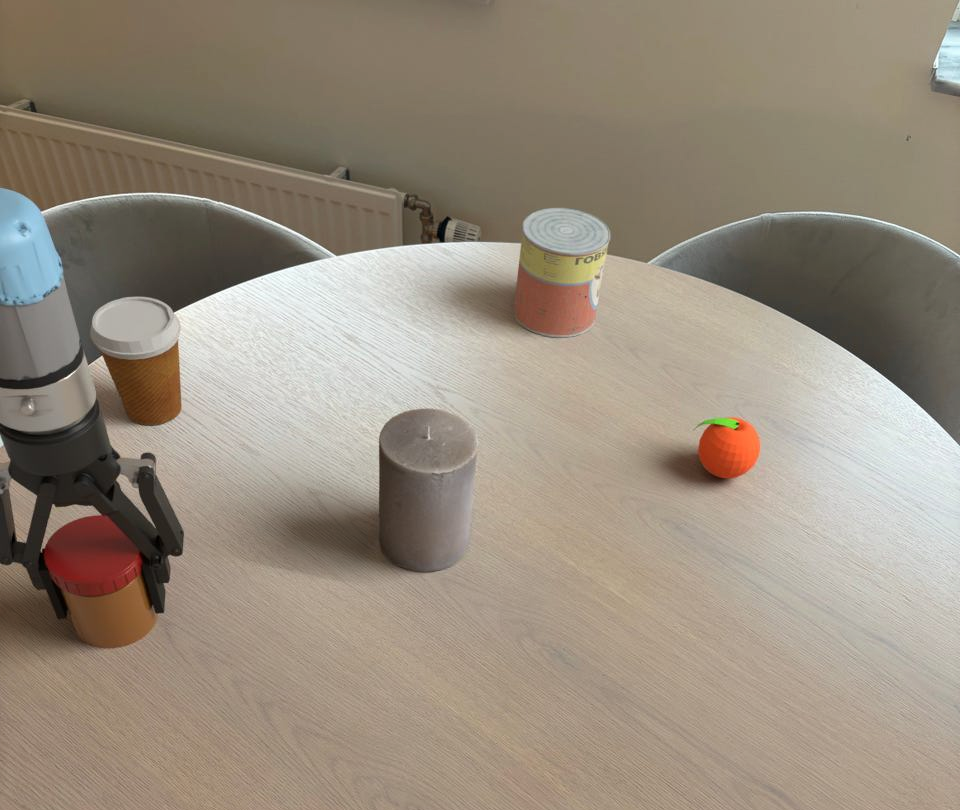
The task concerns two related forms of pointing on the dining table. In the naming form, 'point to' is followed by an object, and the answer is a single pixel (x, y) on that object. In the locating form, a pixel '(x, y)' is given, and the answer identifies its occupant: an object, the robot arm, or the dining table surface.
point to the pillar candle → (426, 488)
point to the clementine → (728, 447)
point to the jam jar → (113, 615)
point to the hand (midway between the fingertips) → (112, 605)
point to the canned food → (560, 271)
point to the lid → (92, 557)
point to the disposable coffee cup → (141, 356)
